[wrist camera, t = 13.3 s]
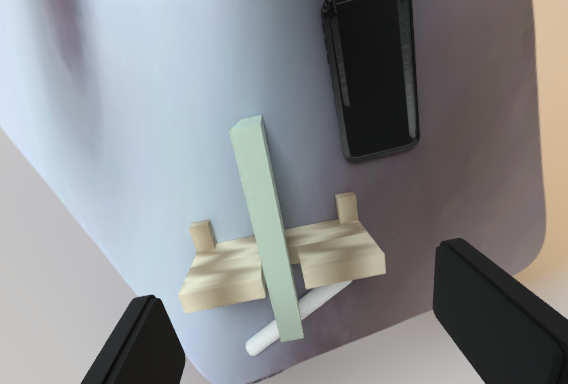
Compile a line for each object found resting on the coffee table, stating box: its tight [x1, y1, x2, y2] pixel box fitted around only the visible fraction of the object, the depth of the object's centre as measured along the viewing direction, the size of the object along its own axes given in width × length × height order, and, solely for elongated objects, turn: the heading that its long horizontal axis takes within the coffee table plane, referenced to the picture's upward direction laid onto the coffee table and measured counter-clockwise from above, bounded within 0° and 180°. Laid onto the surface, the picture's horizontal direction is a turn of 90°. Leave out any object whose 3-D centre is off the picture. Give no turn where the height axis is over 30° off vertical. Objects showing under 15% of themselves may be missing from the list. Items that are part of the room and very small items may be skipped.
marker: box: [246, 280, 352, 356], centre depth 34 cm, size 18×2×2 cm, turn 132°
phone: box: [321, 0, 420, 162], centre depth 26 cm, size 8×1×15 cm
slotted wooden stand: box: [178, 191, 386, 313], centre depth 27 cm, size 18×8×8 cm, turn 100°
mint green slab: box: [229, 115, 304, 342], centre depth 25 cm, size 18×2×10 cm, turn 10°
